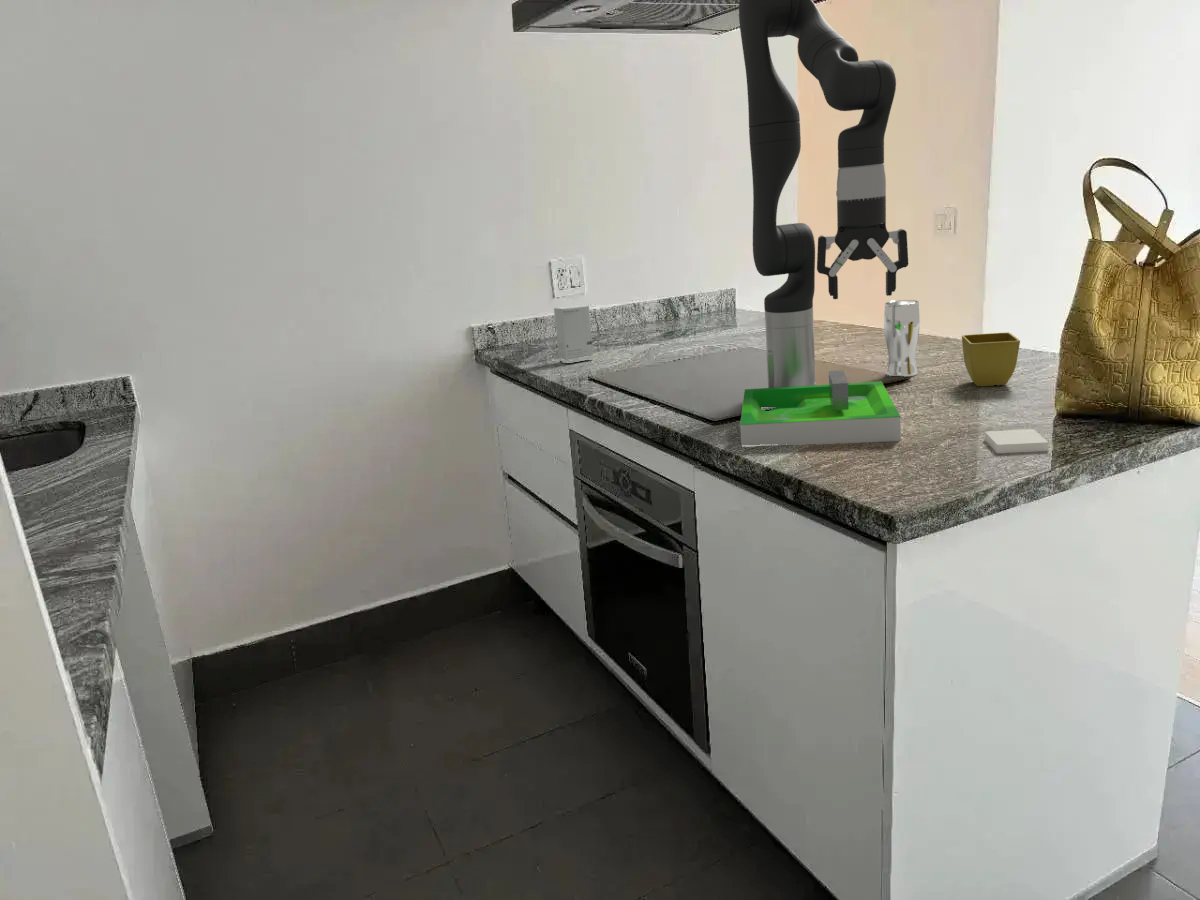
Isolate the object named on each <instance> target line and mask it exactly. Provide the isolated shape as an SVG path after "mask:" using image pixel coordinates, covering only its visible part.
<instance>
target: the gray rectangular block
mask: <svg viewBox="0 0 1200 900" xmlns="http://www.w3.org/2000/svg"><path fill="white" fill-rule="evenodd" d="M848 383H849V382H848V379H847V376H846V373H845V372H844V370H842V369H841V370H828V385H829V397H830V401H831V405H832V409H833V410H848Z"/></svg>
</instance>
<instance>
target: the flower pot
mask: <svg viewBox="0 0 1200 900" xmlns="http://www.w3.org/2000/svg"><path fill="white" fill-rule="evenodd" d="M961 341H962V352H963V360H964V365H965V369H966V371H967V373H968V376H969V377H970V379H971V381H972V382H973V383H974V384H975V386H976V387H979V386H982V387H990V386H991V387H993V386H994V385H997V386H1000V385H1002V386H1006V385H1007V383H1008V382H1009V381H1010V380H1011V378H1012V376H1013V374H1014V372H1015V370H1016V366H1017V362H1018V358H1019V357H1018V356H1019V351H1020V344H1021V340H1020V339H1019V338H1017V337H1016V336H1015V335H1013V334H1012V333H1011V332H993V333H992V332H990V333H976V334H973V333H972V334H964V335H961Z"/></svg>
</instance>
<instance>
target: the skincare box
mask: <svg viewBox="0 0 1200 900" xmlns="http://www.w3.org/2000/svg"><path fill="white" fill-rule="evenodd" d="M553 312H554V323H555V331H556V342H557V352H558V359H559V358H562V359H565V360H568V359H574V358H579V357H584V356H591V355H593V356H594V353H593V340H592V329H591V316H590V307H589V305H585V304H578V305H577V304H576V305H567V306H560V307H554V308H553Z"/></svg>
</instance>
